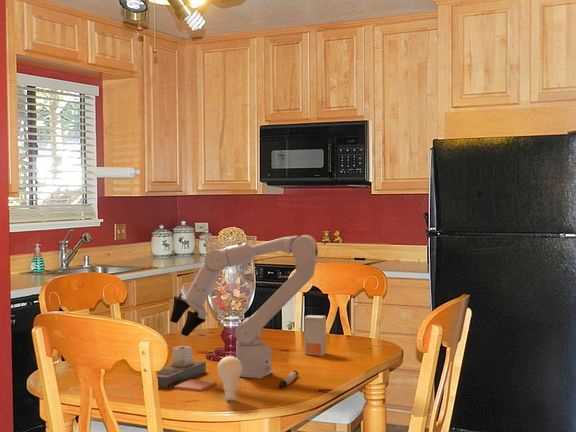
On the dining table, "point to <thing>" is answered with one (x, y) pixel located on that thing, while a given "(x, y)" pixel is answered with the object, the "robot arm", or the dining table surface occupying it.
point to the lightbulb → (229, 375)
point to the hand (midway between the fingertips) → (178, 328)
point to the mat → (195, 385)
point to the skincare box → (315, 335)
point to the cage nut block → (182, 356)
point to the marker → (288, 379)
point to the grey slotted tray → (179, 374)
